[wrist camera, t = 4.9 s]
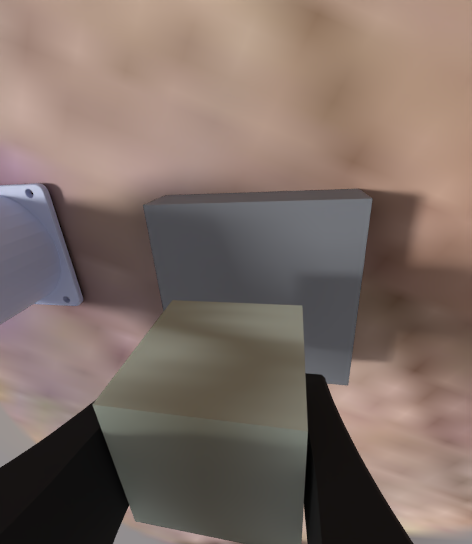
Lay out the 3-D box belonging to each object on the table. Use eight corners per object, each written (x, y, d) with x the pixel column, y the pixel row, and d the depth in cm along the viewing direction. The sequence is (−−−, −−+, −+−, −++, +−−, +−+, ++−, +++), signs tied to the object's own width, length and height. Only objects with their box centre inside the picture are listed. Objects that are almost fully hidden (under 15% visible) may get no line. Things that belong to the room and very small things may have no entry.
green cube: (188, 393, 12) (135, 521, 8) (172, 300, 10) (92, 404, 6) (298, 405, 11) (300, 555, 7) (302, 305, 9) (307, 431, 5)
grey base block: (190, 339, 20) (174, 369, 17) (168, 194, 16) (142, 205, 13) (340, 349, 18) (348, 385, 16) (357, 187, 14) (372, 198, 11)
